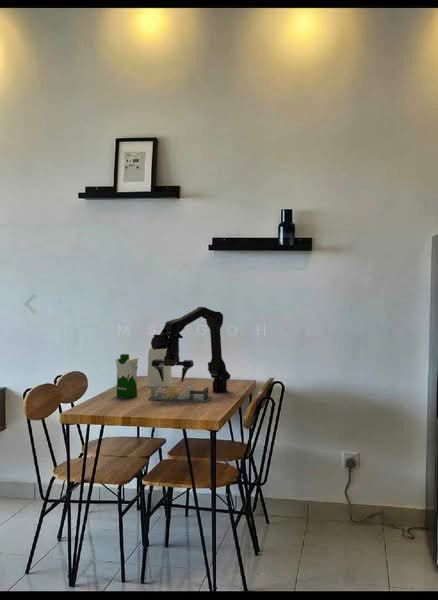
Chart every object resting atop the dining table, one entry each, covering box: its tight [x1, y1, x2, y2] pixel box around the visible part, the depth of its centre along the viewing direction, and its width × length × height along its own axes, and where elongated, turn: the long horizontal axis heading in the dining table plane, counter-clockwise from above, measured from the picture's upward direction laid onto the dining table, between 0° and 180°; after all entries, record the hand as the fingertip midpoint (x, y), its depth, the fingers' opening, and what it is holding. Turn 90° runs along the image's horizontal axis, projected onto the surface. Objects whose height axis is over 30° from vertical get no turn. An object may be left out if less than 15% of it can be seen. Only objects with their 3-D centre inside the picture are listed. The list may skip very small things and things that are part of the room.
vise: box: [147, 385, 212, 403], centre depth 285 cm, size 27×12×5 cm, turn 81°
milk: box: [146, 346, 173, 388], centre depth 321 cm, size 12×12×26 cm
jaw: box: [184, 385, 209, 399], centre depth 283 cm, size 9×10×4 cm
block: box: [167, 383, 179, 398], centre depth 285 cm, size 4×7×5 cm, turn 171°
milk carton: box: [115, 353, 139, 399], centre depth 288 cm, size 9×9×20 cm
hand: (172, 381), depth 285 cm, fingers open, 9 cm apart
